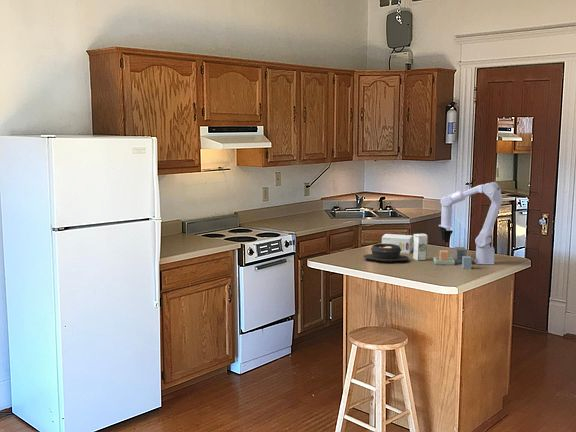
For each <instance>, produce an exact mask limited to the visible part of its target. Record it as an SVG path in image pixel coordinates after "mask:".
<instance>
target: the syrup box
mask: <svg viewBox="0 0 576 432" xmlns="http://www.w3.org/2000/svg"><path fill="white" fill-rule="evenodd" d="M427 256H428V234H426V233H413V250H412V259H413V260H415V261H417V262H418V261H427V258H428V257H427Z"/></svg>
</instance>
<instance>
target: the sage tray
mask: <svg viewBox="0 0 576 432" xmlns="http://www.w3.org/2000/svg"><path fill="white" fill-rule="evenodd" d="M453 259H454V257H450V256H448V261H439V256H433V257H432V261H433V263H434V264H435V266H455V261H454V260H453Z"/></svg>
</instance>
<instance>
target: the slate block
mask: <svg viewBox="0 0 576 432" xmlns="http://www.w3.org/2000/svg"><path fill="white" fill-rule="evenodd" d="M472 260H473V259H472V257H471V256H462V265H461V267H462V269H463V270H472Z"/></svg>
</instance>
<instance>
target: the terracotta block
mask: <svg viewBox="0 0 576 432" xmlns="http://www.w3.org/2000/svg"><path fill="white" fill-rule="evenodd" d="M438 257H439V261H448V257H449V251H448V250H445V249H444V250H443V249H442V250H439V256H438Z"/></svg>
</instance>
